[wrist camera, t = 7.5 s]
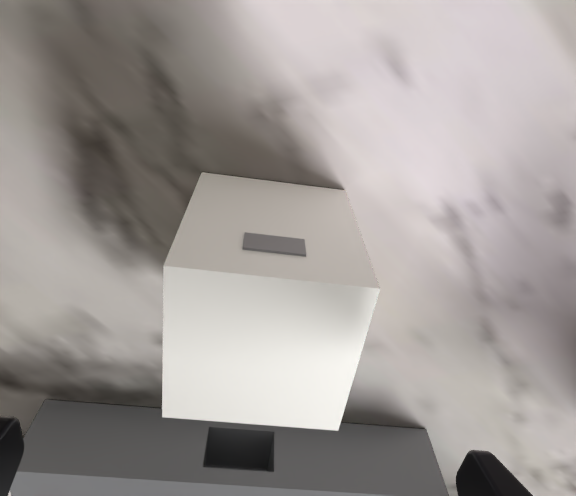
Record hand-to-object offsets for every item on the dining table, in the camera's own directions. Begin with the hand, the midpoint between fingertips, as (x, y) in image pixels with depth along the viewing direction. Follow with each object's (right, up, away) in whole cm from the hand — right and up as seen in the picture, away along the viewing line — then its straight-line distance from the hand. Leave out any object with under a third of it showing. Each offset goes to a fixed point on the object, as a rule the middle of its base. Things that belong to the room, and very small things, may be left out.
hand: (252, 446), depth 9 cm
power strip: (-5, -6, +14) cm, 16 cm away
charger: (0, +3, +8) cm, 9 cm away
